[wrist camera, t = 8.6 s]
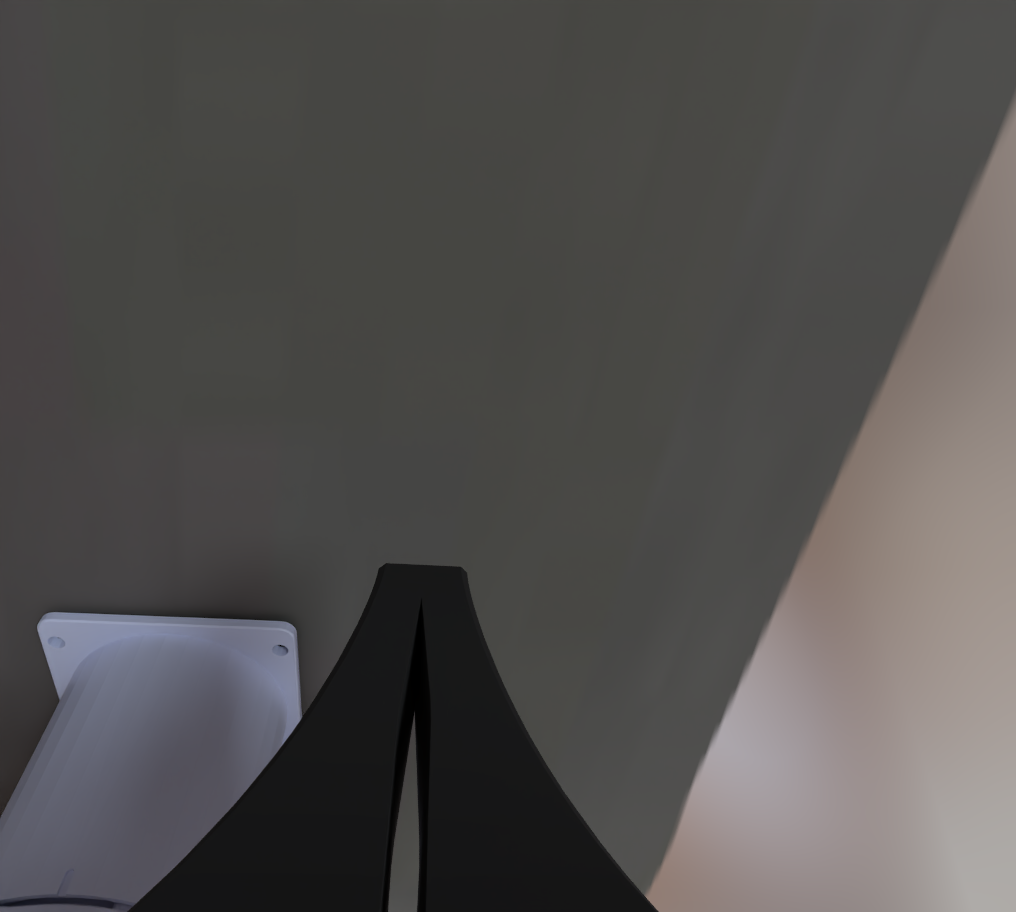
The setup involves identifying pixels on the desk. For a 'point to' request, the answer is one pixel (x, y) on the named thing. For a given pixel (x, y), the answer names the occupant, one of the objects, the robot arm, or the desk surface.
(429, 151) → the desk surface
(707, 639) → the desk surface
